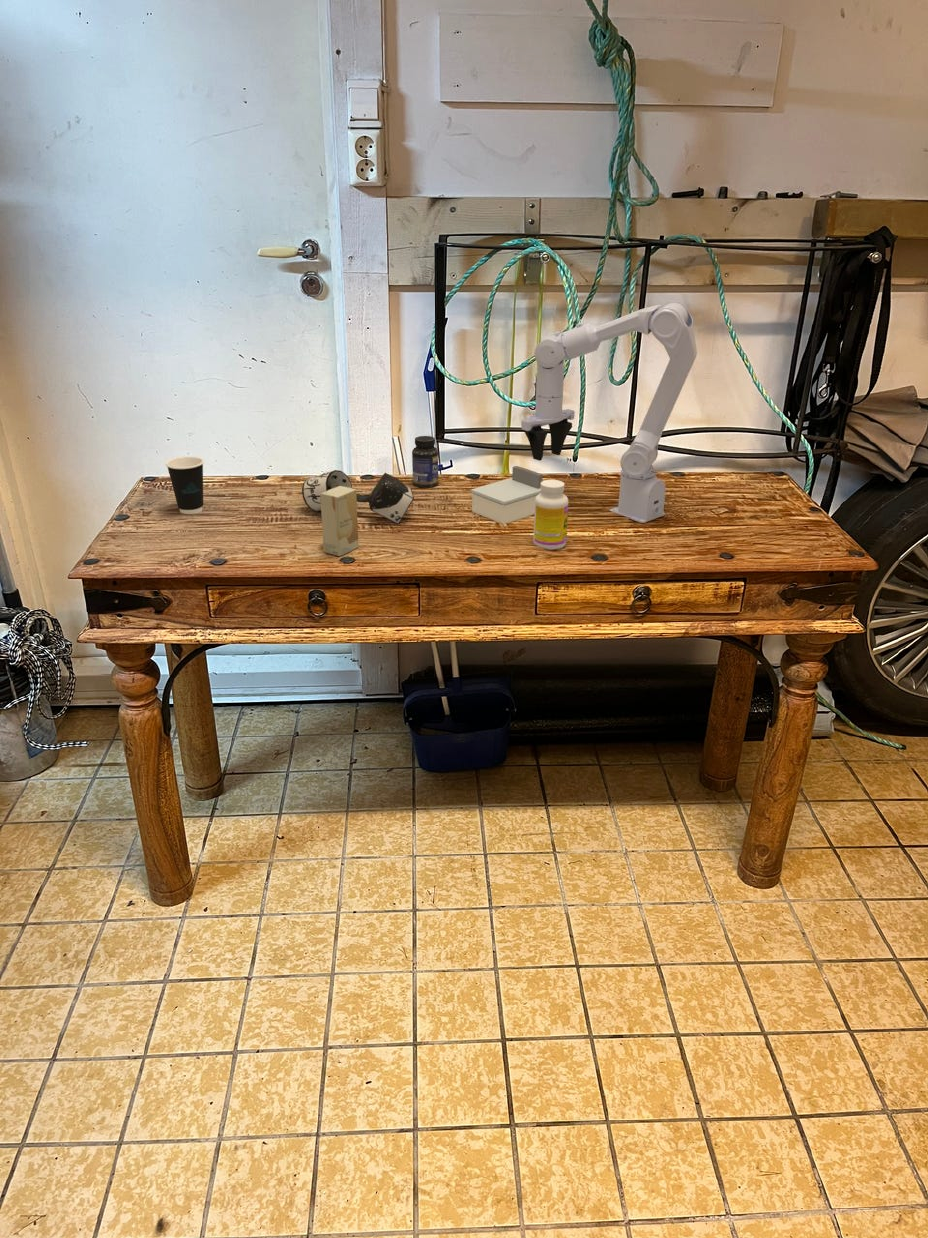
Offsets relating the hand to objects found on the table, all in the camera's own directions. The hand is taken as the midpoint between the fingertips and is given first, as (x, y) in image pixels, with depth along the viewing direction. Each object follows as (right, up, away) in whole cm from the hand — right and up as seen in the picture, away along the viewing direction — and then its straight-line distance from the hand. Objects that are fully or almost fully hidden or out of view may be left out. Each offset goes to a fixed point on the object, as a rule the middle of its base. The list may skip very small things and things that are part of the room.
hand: (546, 456), depth 208 cm
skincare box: (-42, -22, -20) cm, 52 cm away
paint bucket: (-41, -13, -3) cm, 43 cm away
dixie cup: (-78, -12, -1) cm, 79 cm away
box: (-9, -13, -2) cm, 16 cm away
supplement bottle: (-1, -21, -18) cm, 27 cm away
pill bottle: (-27, -4, +15) cm, 32 cm away
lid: (-9, -8, -4) cm, 13 cm away
